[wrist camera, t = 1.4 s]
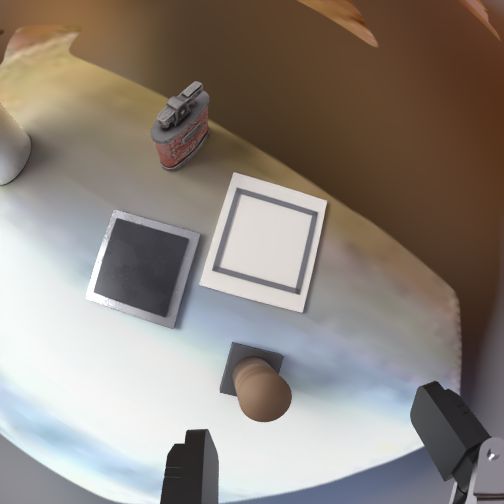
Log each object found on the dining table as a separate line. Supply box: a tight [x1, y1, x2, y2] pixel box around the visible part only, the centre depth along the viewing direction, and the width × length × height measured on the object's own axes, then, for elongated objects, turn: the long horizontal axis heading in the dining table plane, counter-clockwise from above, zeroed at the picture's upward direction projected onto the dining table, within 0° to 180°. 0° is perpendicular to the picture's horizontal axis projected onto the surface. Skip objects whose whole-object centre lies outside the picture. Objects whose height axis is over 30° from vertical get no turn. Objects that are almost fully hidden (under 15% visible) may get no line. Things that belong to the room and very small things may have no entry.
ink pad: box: [86, 209, 201, 329], centre depth 32 cm, size 11×11×1 cm
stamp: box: [220, 342, 292, 422], centre depth 27 cm, size 6×6×11 cm
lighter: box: [151, 82, 209, 172], centre depth 32 cm, size 8×3×10 cm, turn 144°
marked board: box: [199, 172, 327, 313], centre depth 35 cm, size 12×14×1 cm
